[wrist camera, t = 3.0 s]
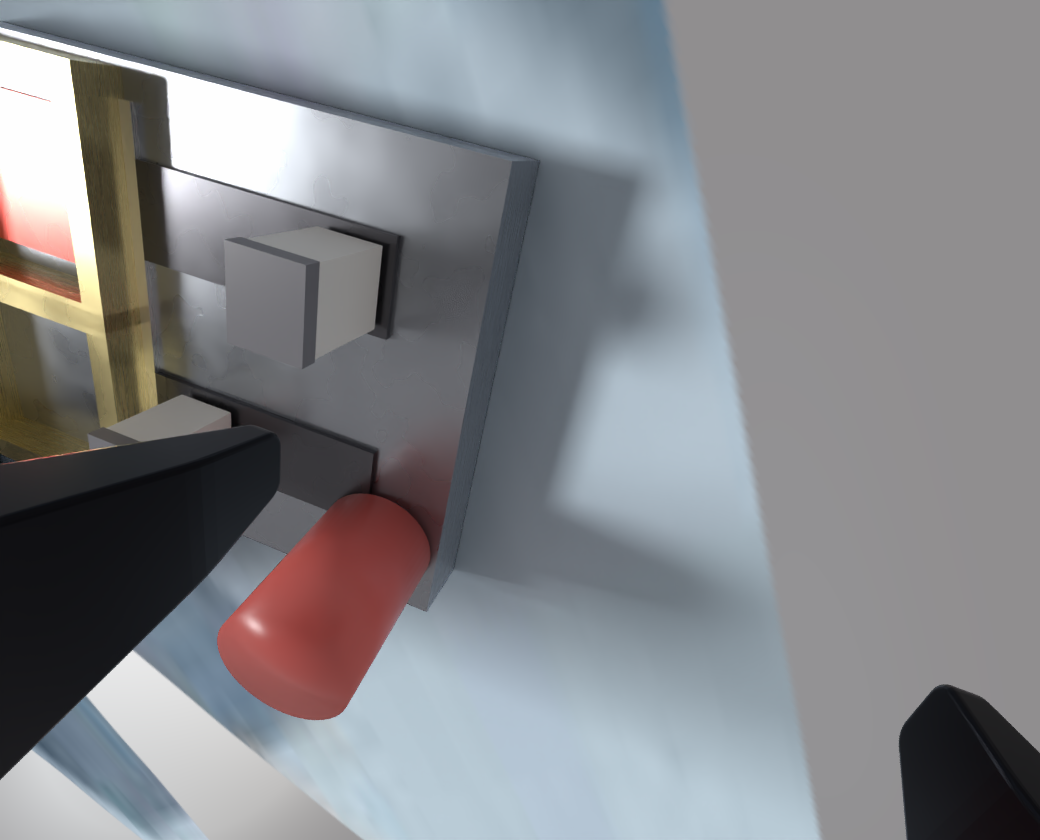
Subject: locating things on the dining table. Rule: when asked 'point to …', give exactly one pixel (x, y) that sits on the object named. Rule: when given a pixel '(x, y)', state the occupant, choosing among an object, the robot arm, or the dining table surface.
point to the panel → (201, 277)
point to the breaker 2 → (300, 292)
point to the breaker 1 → (162, 423)
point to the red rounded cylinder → (326, 608)
